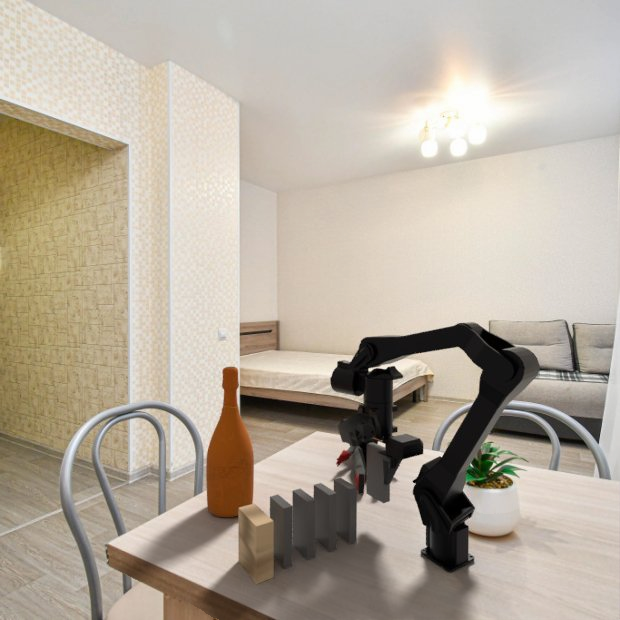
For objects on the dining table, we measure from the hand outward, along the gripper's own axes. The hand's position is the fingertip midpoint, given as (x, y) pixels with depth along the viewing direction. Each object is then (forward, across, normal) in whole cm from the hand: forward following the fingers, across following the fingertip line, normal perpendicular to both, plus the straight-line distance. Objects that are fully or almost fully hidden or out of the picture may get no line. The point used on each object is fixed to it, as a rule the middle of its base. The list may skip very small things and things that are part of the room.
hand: (377, 479), depth 83 cm
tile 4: (+9, 0, -17) cm, 19 cm away
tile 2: (+9, 0, -8) cm, 12 cm away
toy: (+9, -23, +16) cm, 30 cm away
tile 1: (+4, 0, 0) cm, 4 cm away
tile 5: (+9, 0, -22) cm, 23 cm away
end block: (+9, 0, -26) cm, 28 cm away
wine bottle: (+9, -22, -22) cm, 32 cm away
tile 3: (+9, 0, -12) cm, 15 cm away
